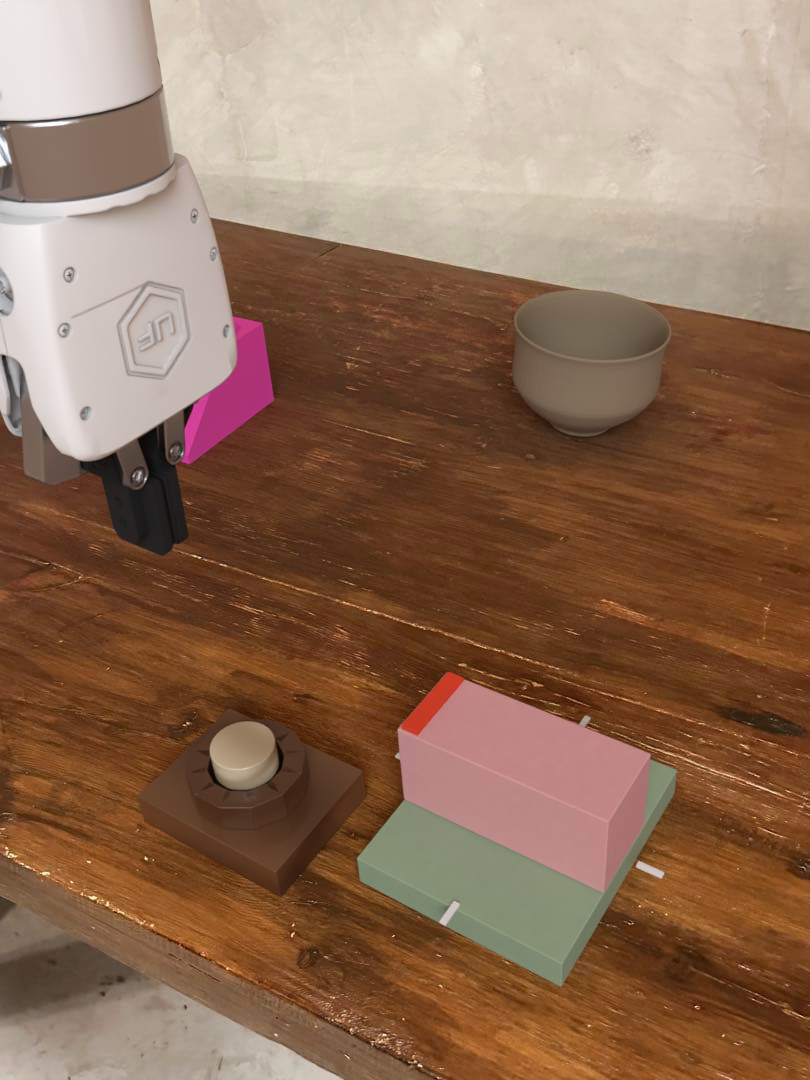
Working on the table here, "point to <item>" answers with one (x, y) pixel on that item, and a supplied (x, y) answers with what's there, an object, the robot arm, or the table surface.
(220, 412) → the bracket
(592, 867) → the pink bar
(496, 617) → the table surface
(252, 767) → the button
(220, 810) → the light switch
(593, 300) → the bowl
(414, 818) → the green mat
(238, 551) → the table surface
